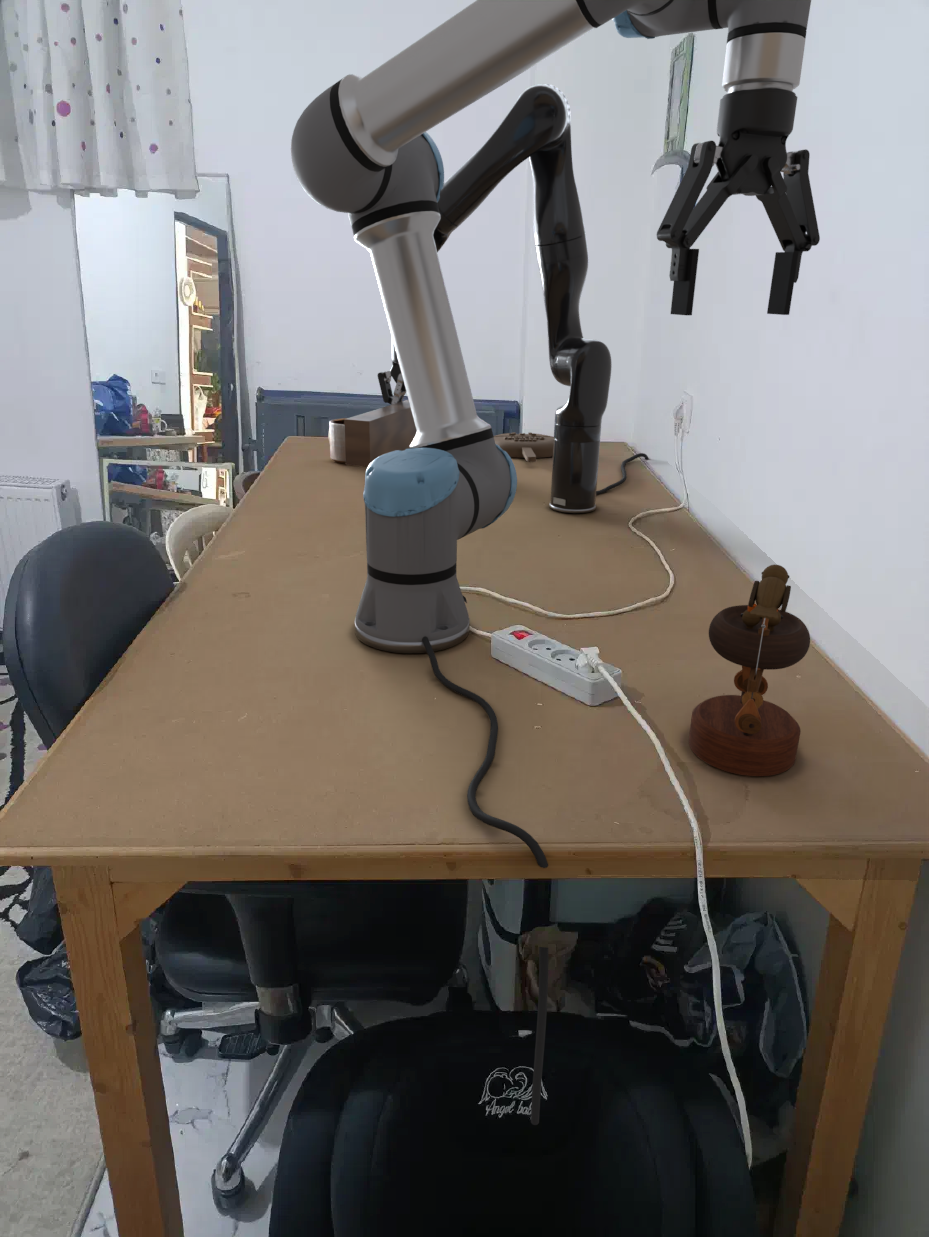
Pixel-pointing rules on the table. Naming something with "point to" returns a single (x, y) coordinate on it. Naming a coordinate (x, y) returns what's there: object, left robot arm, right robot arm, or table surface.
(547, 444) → the ice cream bar
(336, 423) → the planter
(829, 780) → the table surface
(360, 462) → the bar
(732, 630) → the brown wooden stacked piece
